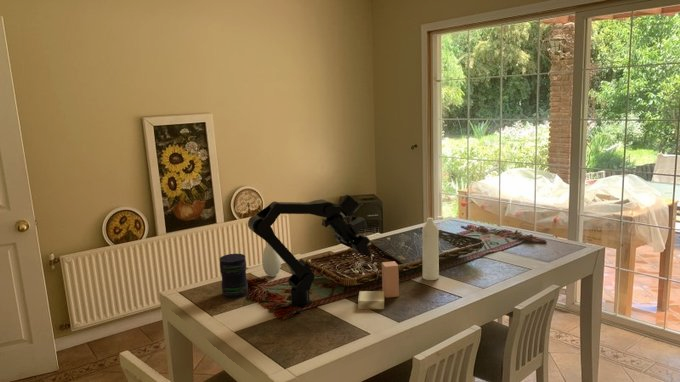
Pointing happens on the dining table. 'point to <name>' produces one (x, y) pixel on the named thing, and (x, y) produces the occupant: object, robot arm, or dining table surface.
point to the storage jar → (233, 276)
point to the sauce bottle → (271, 261)
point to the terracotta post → (390, 279)
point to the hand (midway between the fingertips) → (364, 253)
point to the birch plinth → (371, 300)
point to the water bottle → (430, 249)
